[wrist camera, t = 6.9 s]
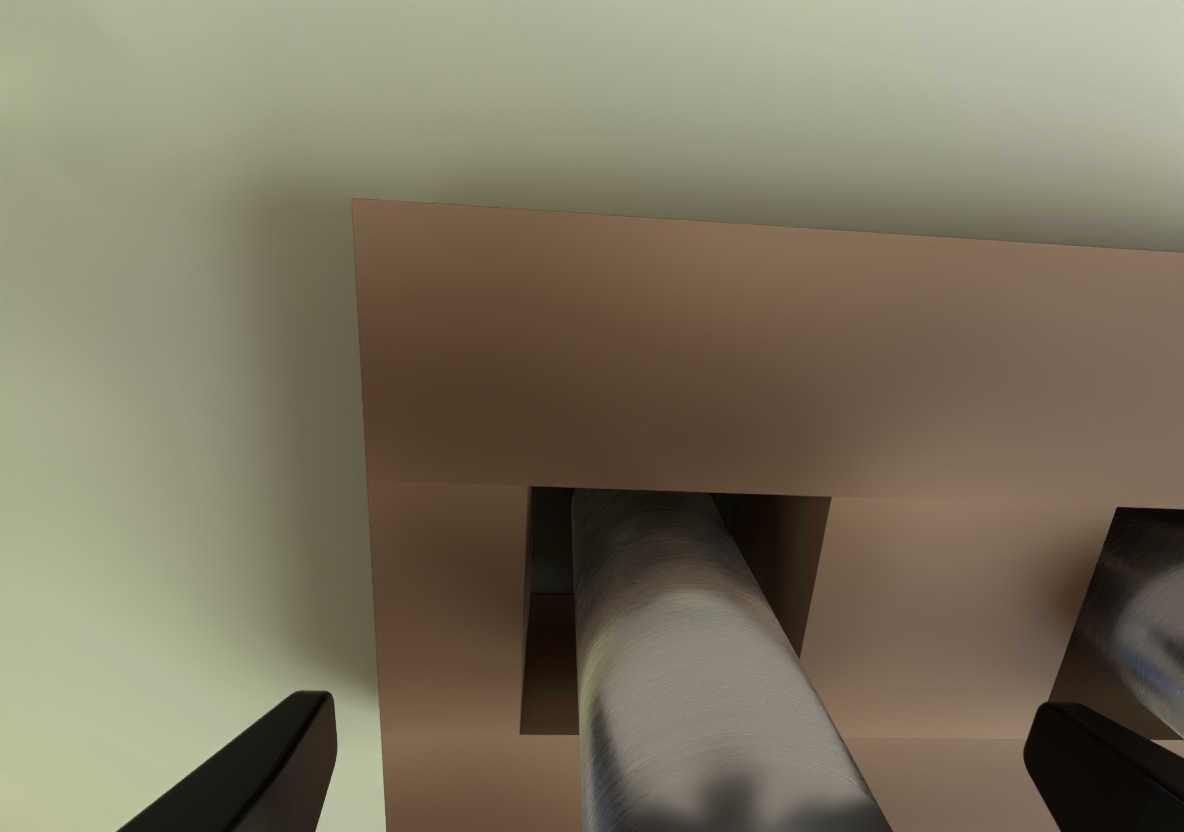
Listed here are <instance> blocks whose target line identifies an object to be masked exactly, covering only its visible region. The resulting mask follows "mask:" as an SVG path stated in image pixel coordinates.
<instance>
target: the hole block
mask: <svg viewBox="0 0 1184 832" xmlns="http://www.w3.org/2000/svg"><path fill="white" fill-rule="evenodd" d="M352 215H353V233H354V251H355V269H356V288H357V306H358V324H359V342H360V360H361V379H362V397H363V415H364V433H365V451H366V469H367V488H368V506H369V524H370V542H371V560H372V579H373V597H374V615H375V633H376V651H377V670H378V688H379V706H380V724H381V742H382V761H383V779H384V797H385V815H386V832H583V816H582V790H581V763H580V736H579V709H578V682H577V655H576V628H575V602H574V595H555V594H531V570H532V542H533V514H534V486H544V487H572V488H600V489H628V490H656V491H685V492H713V493H739V500H738V506H737V513H736V520H735V527H734V533H733V539H734V541H735V543H736V545H737V547H738V549H739V550H740V552H741V554H742V556H743V558H744V560H745V561H746V563H747V565H748V567H749V569H750V570H751V572H752V574H753V576H754V578H755V580H756V581H757V583H758V585H759V587H760V589H761V591H762V592H763V594H764V596H765V598H766V600H767V602H768V603H769V605H770V607H771V609H772V611H773V613H774V614H775V616H776V618H777V620H778V622H779V624H780V625H781V627H782V629H783V631H784V633H785V635H786V636H787V638H788V640H789V642H790V644H791V645H792V647H793V649H794V651H795V653H796V655H797V656H798V658H799V660H800V662H801V664H802V666H803V667H804V669H805V671H806V673H807V675H808V677H809V678H810V680H811V682H812V684H813V686H814V688H815V689H816V691H817V693H818V695H819V697H820V699H821V700H822V702H823V704H824V706H825V708H826V709H827V711H828V713H829V715H830V717H831V719H832V720H833V722H834V724H835V726H836V728H837V730H838V731H839V733H840V735H841V737H842V739H843V741H844V742H845V744H846V746H847V748H848V750H849V752H850V753H851V755H852V757H853V759H854V761H855V763H856V764H857V766H858V768H859V770H860V772H861V774H862V775H863V777H864V779H865V781H866V783H867V784H868V786H869V788H870V790H871V792H872V794H873V795H874V797H875V799H876V801H877V803H878V805H879V806H880V808H881V810H882V812H883V814H884V816H885V817H886V819H887V821H888V823H889V825H890V827H891V828H892V830H893V832H1061V831H1060V830H1059V828H1058V826H1057V824H1056V822H1055V821H1054V819H1053V817H1052V815H1051V813H1050V812H1049V810H1048V808H1047V806H1046V804H1045V803H1044V801H1043V799H1042V797H1041V795H1040V794H1039V792H1038V790H1037V788H1036V786H1035V784H1034V783H1033V781H1032V779H1031V777H1030V775H1029V774H1028V772H1027V769H1026V767H1025V764H1024V759H1023V749H1024V745H1025V742H1026V739H1027V737H1028V734H1029V731H1030V728H1031V725H1032V722H1033V720H1034V717H1035V714H1036V711H1037V709H1038V707H1039V706H1040V705H1041V704H1042V703H1043V702H1047V701H1071V702H1077V703H1080V704H1083V705H1085V706H1087V707H1089V708H1090V709H1092V710H1094V711H1096V712H1098V713H1100V714H1102V715H1104V716H1106V717H1107V718H1109V719H1111V720H1113V721H1115V722H1117V723H1119V724H1121V725H1123V726H1124V727H1126V728H1128V729H1130V730H1132V731H1134V732H1136V733H1138V734H1140V735H1142V736H1143V737H1145V738H1147V739H1149V740H1151V741H1153V742H1155V743H1157V744H1159V745H1160V746H1162V747H1164V748H1166V749H1168V750H1170V751H1172V752H1174V753H1176V754H1177V755H1179V756H1181V757H1183V758H1184V739H1183V738H1182V737H1181V736H1180V735H1178V734H1177V733H1176V732H1175V731H1174V730H1172V729H1171V728H1170V727H1169V726H1168V725H1166V724H1165V723H1164V722H1163V721H1161V720H1160V719H1159V718H1158V717H1157V716H1155V715H1154V714H1153V713H1152V712H1151V711H1149V710H1148V709H1147V708H1146V707H1145V706H1143V705H1142V704H1141V703H1140V702H1138V701H1137V700H1136V699H1135V698H1134V697H1132V696H1131V695H1130V694H1129V693H1128V692H1126V691H1125V690H1124V689H1123V688H1122V687H1120V686H1119V685H1118V684H1117V683H1116V682H1114V681H1113V680H1112V679H1111V678H1109V677H1108V676H1107V675H1106V674H1105V673H1103V672H1102V671H1101V670H1100V669H1099V668H1097V667H1096V666H1095V665H1094V664H1093V663H1091V662H1090V661H1089V660H1088V659H1086V658H1085V657H1084V656H1083V655H1082V654H1080V653H1079V652H1078V651H1077V650H1076V649H1074V648H1073V647H1072V646H1071V645H1070V644H1068V643H1069V640H1070V637H1071V634H1072V632H1073V629H1074V626H1075V623H1076V620H1077V617H1078V615H1079V612H1080V609H1081V606H1082V603H1083V601H1084V598H1085V595H1086V592H1087V589H1088V587H1089V584H1090V581H1091V578H1092V575H1093V572H1094V570H1095V567H1096V564H1097V561H1098V558H1099V556H1100V553H1101V550H1102V547H1103V544H1104V542H1105V539H1106V536H1107V533H1108V530H1109V528H1110V525H1111V522H1112V519H1113V516H1114V513H1115V511H1116V508H1117V507H1136V508H1155V509H1157V510H1159V511H1161V512H1163V513H1165V514H1167V515H1169V516H1171V517H1173V518H1176V519H1178V520H1180V521H1182V522H1184V253H1179V252H1164V251H1149V250H1134V249H1118V248H1103V247H1088V246H1073V245H1058V244H1042V243H1027V242H1012V241H997V240H981V239H966V238H951V237H936V236H921V235H905V234H890V233H875V232H860V231H844V230H829V229H814V228H799V227H784V226H768V225H753V224H738V223H723V222H707V221H692V220H677V219H662V218H647V217H631V216H616V215H601V214H586V213H571V212H555V211H540V210H525V209H510V208H494V207H479V206H464V205H449V204H434V203H418V202H403V201H388V200H373V199H357V198H352Z"/></svg>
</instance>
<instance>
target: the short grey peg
mask: <svg viewBox="0 0 1184 832" xmlns="http://www.w3.org/2000/svg"><path fill="white" fill-rule="evenodd" d="M1068 644H1070V645H1071V646H1072V647H1073V648H1074V649H1076V650H1077V651H1078V652H1079V653H1080V654H1082V655H1083V656H1084V657H1085V658H1086V659H1088V660H1089V661H1090V662H1091V663H1093V664H1094V665H1095V666H1096V667H1097V668H1099V669H1100V670H1101V671H1102V672H1103V673H1105V674H1106V675H1107V676H1108V677H1109V678H1111V679H1112V680H1113V681H1114V682H1116V683H1117V684H1118V685H1119V686H1120V687H1122V688H1123V689H1124V690H1125V691H1126V692H1128V693H1129V694H1130V695H1131V696H1132V697H1134V698H1135V699H1136V700H1137V701H1138V702H1140V703H1141V704H1142V705H1143V706H1145V707H1146V708H1147V709H1148V710H1149V711H1151V712H1152V713H1153V714H1154V715H1155V716H1157V717H1158V718H1159V719H1160V720H1161V721H1163V722H1164V723H1165V724H1166V725H1168V726H1169V727H1170V728H1171V729H1172V730H1174V731H1175V732H1176V733H1177V734H1178V735H1180V736H1181V737H1182V738H1183V739H1184V522H1182V521H1180V520H1178V519H1176V518H1173V517H1171V516H1169V515H1167V514H1165V513H1163V512H1161V511H1159V510H1157V509H1155V508H1136V507H1117V508H1116V511H1115V513H1114V516H1113V519H1112V522H1111V525H1110V528H1109V530H1108V533H1107V536H1106V539H1105V542H1104V544H1103V547H1102V550H1101V553H1100V556H1099V558H1098V561H1097V564H1096V567H1095V570H1094V572H1093V575H1092V578H1091V581H1090V584H1089V587H1088V589H1087V592H1086V595H1085V598H1084V601H1083V603H1082V606H1081V609H1080V612H1079V615H1078V617H1077V620H1076V623H1075V626H1074V629H1073V632H1072V634H1071V637H1070V640H1069V643H1068Z"/></svg>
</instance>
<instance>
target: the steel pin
mask: <svg viewBox="0 0 1184 832" xmlns="http://www.w3.org/2000/svg"><path fill="white" fill-rule="evenodd" d="M571 521H572V548H573V575H574V602H575V628H576V655H577V682H578V709H579V736H580V763H581V790H582V816H583V832H893V830H892V828H891V827H890V825H889V823H888V821H887V819H886V817H885V816H884V814H883V812H882V810H881V808H880V806H879V805H878V803H877V801H876V799H875V797H874V795H873V794H872V792H871V790H870V788H869V786H868V784H867V783H866V781H865V779H864V777H863V775H862V774H861V772H860V770H859V768H858V766H857V764H856V763H855V761H854V759H853V757H852V755H851V753H850V752H849V750H848V748H847V746H846V744H845V742H844V741H843V739H842V737H841V735H840V733H839V731H838V730H837V728H836V726H835V724H834V722H833V720H832V719H831V717H830V715H829V713H828V711H827V709H826V708H825V706H824V704H823V702H822V700H821V699H820V697H819V695H818V693H817V691H816V689H815V688H814V686H813V684H812V682H811V680H810V678H809V677H808V675H807V673H806V671H805V669H804V667H803V666H802V664H801V662H800V660H799V658H798V656H797V655H796V653H795V651H794V649H793V647H792V645H791V644H790V642H789V640H788V638H787V636H786V635H785V633H784V631H783V629H782V627H781V625H780V624H779V622H778V620H777V618H776V616H775V614H774V613H773V611H772V609H771V607H770V605H769V603H768V602H767V600H766V598H765V596H764V594H763V592H762V591H761V589H760V587H759V585H758V583H757V581H756V580H755V578H754V576H753V574H752V572H751V570H750V569H749V567H748V565H747V563H746V561H745V560H744V558H743V556H742V554H741V552H740V550H739V549H738V547H737V545H736V543H735V541H734V539H733V538H732V536H731V534H730V532H729V530H728V528H727V527H726V525H725V523H724V521H723V519H722V517H721V516H720V514H719V512H718V510H717V508H716V506H715V505H714V503H713V501H712V499H711V497H710V496H709V494H708V492H685V491H656V490H628V489H600V488H575V491H574V494H573V498H572V504H571Z"/></svg>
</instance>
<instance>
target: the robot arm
mask: <svg viewBox="0 0 1184 832" xmlns="http://www.w3.org/2000/svg"><path fill="white" fill-rule="evenodd" d="M336 756H337V732H336V720H335V708H334V699H333V697H332V694H331V693H330V692H328V691H304V690H301V691H296V692H294V693H292V694H291V695H289V696H288V697H287V698H285V699H284V700H283V701H282V702H280V703H279V704H278V705H277V706H275V707H274V708H273V709H271V710H270V711H269V712H268V713H266V714H265V715H264V716H263V717H261V718H260V719H259V720H257V721H256V722H255V723H254V724H252V725H251V726H250V727H249V728H247V729H246V730H245V731H243V732H242V733H241V734H240V735H238V736H237V737H236V738H235V739H233V740H232V741H231V742H229V743H228V744H227V745H226V746H224V747H223V748H222V749H221V750H219V751H218V752H217V753H215V754H214V755H213V756H212V757H210V758H209V759H208V760H207V761H205V762H204V763H203V764H201V765H200V766H199V767H198V768H196V769H195V770H194V771H193V772H191V773H190V774H189V775H187V776H186V777H185V778H184V779H182V780H181V781H180V782H179V783H177V784H176V785H175V786H173V787H172V788H171V789H170V790H168V791H167V792H166V793H165V794H163V795H162V796H161V797H159V798H158V799H157V800H156V801H154V802H153V803H152V804H151V805H149V806H148V807H147V808H145V809H144V810H143V811H142V812H140V813H139V814H138V815H137V816H135V817H134V818H133V819H131V820H130V821H129V822H128V823H126V824H125V825H124V826H123V827H121V828H120V829H119V830H117V831H116V832H315V831H316V827H317V824H318V821H319V817H320V814H321V810H322V807H323V804H324V800H325V797H326V793H327V790H328V787H329V783H330V780H331V776H332V773H333V770H334V766H335V762H336ZM1023 759H1024V764H1025V767H1026V769H1027V772H1028V774H1029V775H1030V777H1031V779H1032V781H1033V783H1034V784H1035V786H1036V788H1037V790H1038V792H1039V794H1040V795H1041V797H1042V799H1043V801H1044V803H1045V804H1046V806H1047V808H1048V810H1049V812H1050V813H1051V815H1052V817H1053V819H1054V821H1055V822H1056V824H1057V826H1058V828H1059V830H1060V831H1061V832H1184V758H1183V757H1181V756H1179V755H1177V754H1176V753H1174V752H1172V751H1170V750H1168V749H1166V748H1164V747H1162V746H1160V745H1159V744H1157V743H1155V742H1153V741H1151V740H1149V739H1147V738H1145V737H1143V736H1142V735H1140V734H1138V733H1136V732H1134V731H1132V730H1130V729H1128V728H1126V727H1124V726H1123V725H1121V724H1119V723H1117V722H1115V721H1113V720H1111V719H1109V718H1107V717H1106V716H1104V715H1102V714H1100V713H1098V712H1096V711H1094V710H1092V709H1090V708H1089V707H1087V706H1085V705H1083V704H1080V703H1077V702H1071V701H1047V702H1043V703H1042V704H1041V705H1040V706H1039V707H1038V709H1037V711H1036V714H1035V717H1034V720H1033V722H1032V725H1031V728H1030V731H1029V734H1028V737H1027V739H1026V742H1025V745H1024V749H1023Z"/></svg>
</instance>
